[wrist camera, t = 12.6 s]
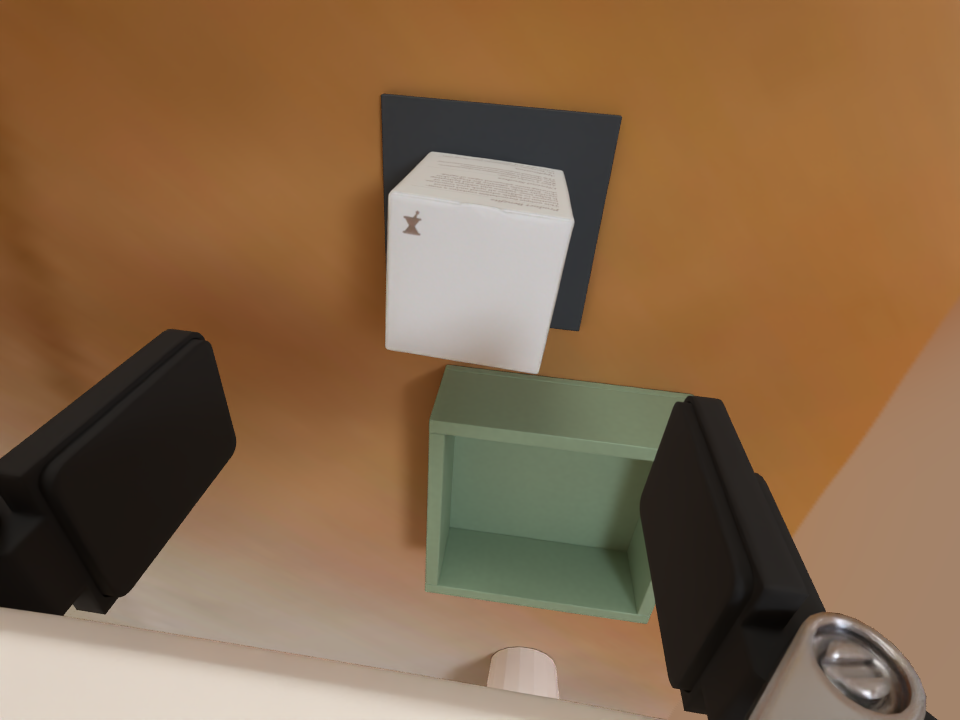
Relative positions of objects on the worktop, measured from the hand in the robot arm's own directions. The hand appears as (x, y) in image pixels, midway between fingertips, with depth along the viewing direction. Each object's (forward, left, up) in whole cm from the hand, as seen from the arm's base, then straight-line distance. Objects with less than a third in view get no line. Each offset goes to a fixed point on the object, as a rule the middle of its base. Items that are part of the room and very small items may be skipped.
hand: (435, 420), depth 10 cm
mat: (+1, 0, -16) cm, 16 cm away
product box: (+1, 0, -15) cm, 15 cm away
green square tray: (+16, +5, -16) cm, 23 cm away
